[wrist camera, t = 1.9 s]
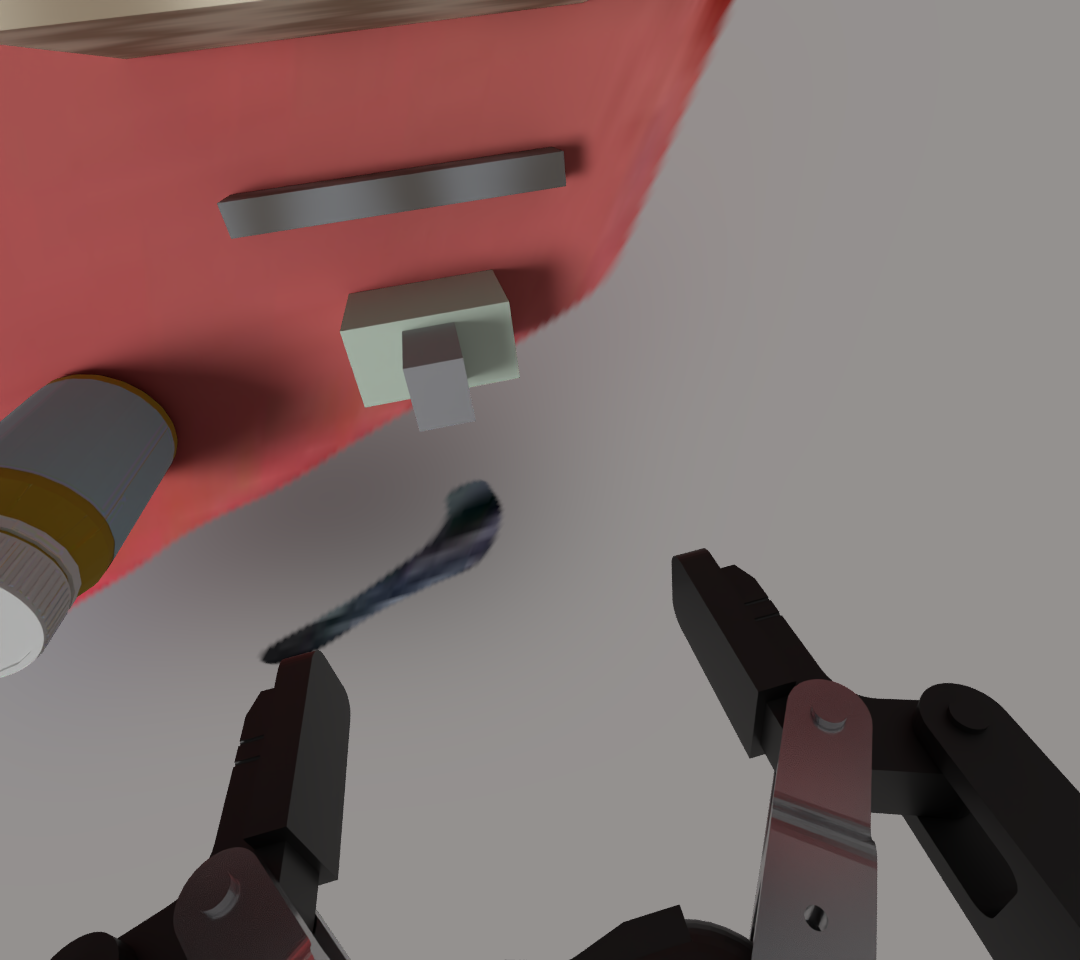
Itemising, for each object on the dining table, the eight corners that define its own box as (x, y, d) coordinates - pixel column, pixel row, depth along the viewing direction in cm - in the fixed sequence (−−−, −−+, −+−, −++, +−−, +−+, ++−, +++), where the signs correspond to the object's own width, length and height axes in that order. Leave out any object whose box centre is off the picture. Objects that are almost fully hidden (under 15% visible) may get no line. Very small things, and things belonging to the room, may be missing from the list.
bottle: (134, 354, 30) (-39, 529, 18) (204, 459, 34) (101, 658, 22) (3, 388, 30) (-263, 590, 18) (90, 490, 34) (-79, 710, 22)
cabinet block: (369, 361, 33) (360, 453, 25) (348, 293, 31) (330, 370, 22) (502, 336, 34) (537, 418, 26) (492, 269, 32) (526, 334, 23)
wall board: (201, 234, 28) (97, 311, 18) (98, -3, 23) (-125, -73, 13) (591, 173, 30) (683, 213, 20) (579, -57, 25) (697, -151, 15)
